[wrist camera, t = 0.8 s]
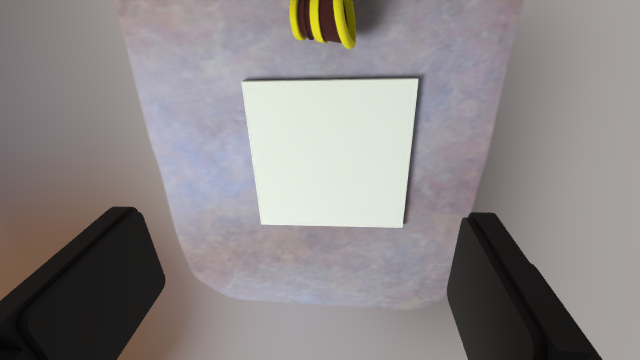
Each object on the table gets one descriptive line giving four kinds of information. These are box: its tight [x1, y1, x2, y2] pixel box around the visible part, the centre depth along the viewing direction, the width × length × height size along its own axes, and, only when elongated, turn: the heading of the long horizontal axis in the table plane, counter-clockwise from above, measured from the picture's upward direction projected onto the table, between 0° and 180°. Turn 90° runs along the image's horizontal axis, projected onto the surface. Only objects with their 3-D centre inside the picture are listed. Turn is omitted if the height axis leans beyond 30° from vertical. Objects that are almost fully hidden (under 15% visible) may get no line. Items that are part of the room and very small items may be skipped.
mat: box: [242, 78, 418, 228], centre depth 33 cm, size 16×16×1 cm
